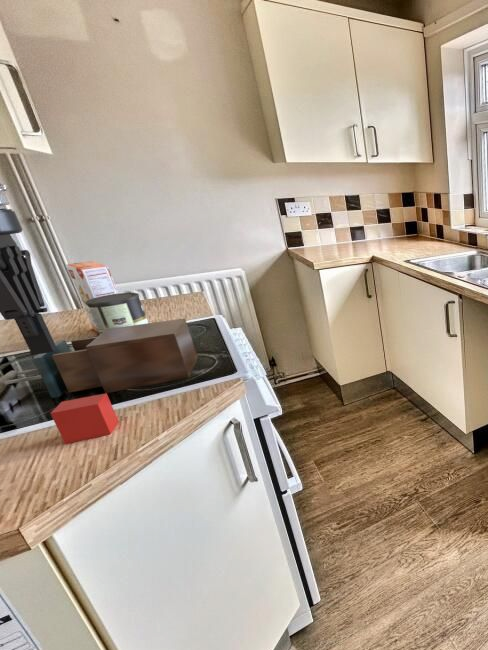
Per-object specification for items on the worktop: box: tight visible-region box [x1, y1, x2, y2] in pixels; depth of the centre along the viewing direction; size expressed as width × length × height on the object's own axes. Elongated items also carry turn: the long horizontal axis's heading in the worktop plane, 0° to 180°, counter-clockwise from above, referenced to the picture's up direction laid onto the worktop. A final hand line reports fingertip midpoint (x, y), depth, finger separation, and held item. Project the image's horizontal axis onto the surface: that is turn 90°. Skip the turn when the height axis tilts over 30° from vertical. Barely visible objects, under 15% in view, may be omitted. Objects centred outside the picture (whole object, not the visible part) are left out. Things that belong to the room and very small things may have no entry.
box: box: [50, 392, 120, 445], centre depth 73 cm, size 6×4×6 cm
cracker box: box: [65, 260, 119, 336], centre depth 120 cm, size 14×6×21 cm, turn 56°
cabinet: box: [86, 318, 199, 394], centre depth 95 cm, size 15×13×11 cm
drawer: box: [0, 336, 103, 399], centre depth 89 cm, size 22×11×9 cm, turn 118°
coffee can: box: [86, 292, 149, 335], centre depth 111 cm, size 10×10×14 cm
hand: (44, 351), depth 72 cm, fingers closed
